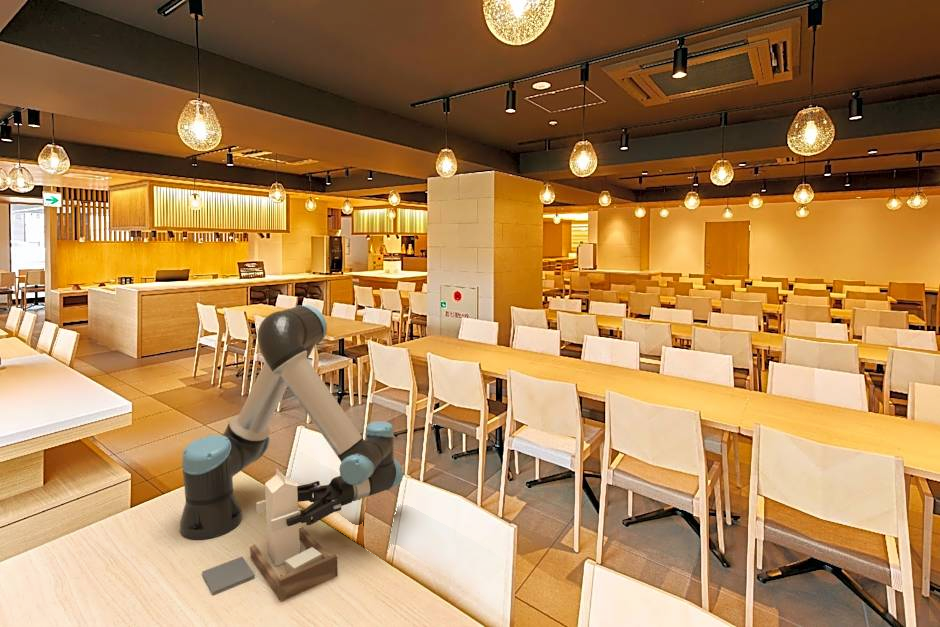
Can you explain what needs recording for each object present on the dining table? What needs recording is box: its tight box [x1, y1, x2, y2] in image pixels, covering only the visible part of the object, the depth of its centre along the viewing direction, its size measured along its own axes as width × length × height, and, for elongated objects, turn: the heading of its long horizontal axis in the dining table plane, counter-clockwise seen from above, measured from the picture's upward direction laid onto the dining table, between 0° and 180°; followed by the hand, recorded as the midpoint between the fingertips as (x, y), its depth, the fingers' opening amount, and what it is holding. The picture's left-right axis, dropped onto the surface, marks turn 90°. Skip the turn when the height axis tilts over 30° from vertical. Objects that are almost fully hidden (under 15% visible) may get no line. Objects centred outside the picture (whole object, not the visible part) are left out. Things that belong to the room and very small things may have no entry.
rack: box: [249, 526, 339, 602], centre depth 123 cm, size 20×13×5 cm
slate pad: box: [201, 556, 256, 596], centre depth 120 cm, size 9×9×1 cm
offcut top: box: [284, 547, 322, 574], centre depth 118 cm, size 4×7×3 cm, turn 139°
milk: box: [264, 468, 301, 567], centre depth 126 cm, size 6×6×22 cm
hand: (263, 517), depth 123 cm, fingers open, 9 cm apart
